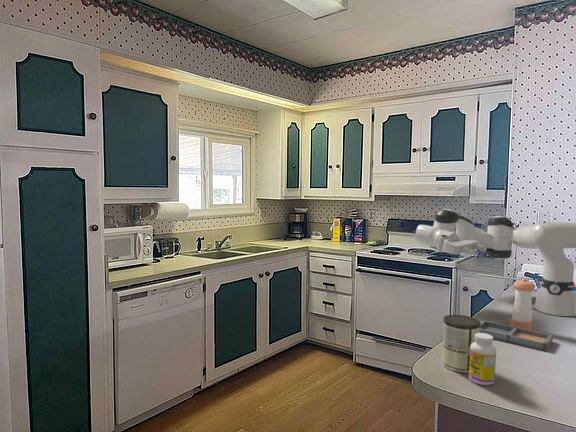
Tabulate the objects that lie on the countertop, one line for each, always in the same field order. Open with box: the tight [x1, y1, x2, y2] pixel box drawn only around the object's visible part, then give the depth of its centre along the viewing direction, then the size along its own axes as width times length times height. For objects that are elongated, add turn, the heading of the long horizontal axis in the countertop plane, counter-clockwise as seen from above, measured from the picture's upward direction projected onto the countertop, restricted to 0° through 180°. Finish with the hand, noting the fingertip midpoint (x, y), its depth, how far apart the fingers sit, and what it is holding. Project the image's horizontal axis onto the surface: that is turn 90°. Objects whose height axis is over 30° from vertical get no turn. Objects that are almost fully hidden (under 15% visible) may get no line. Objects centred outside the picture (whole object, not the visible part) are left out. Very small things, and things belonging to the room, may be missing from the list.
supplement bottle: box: [467, 333, 497, 386], centre depth 118 cm, size 7×7×13 cm
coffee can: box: [441, 314, 482, 374], centre depth 128 cm, size 10×10×14 cm
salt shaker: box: [510, 278, 535, 330], centre depth 163 cm, size 7×7×19 cm
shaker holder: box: [480, 319, 554, 352], centre depth 153 cm, size 12×23×2 cm, turn 50°
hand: (479, 251), depth 175 cm, fingers open, 8 cm apart
